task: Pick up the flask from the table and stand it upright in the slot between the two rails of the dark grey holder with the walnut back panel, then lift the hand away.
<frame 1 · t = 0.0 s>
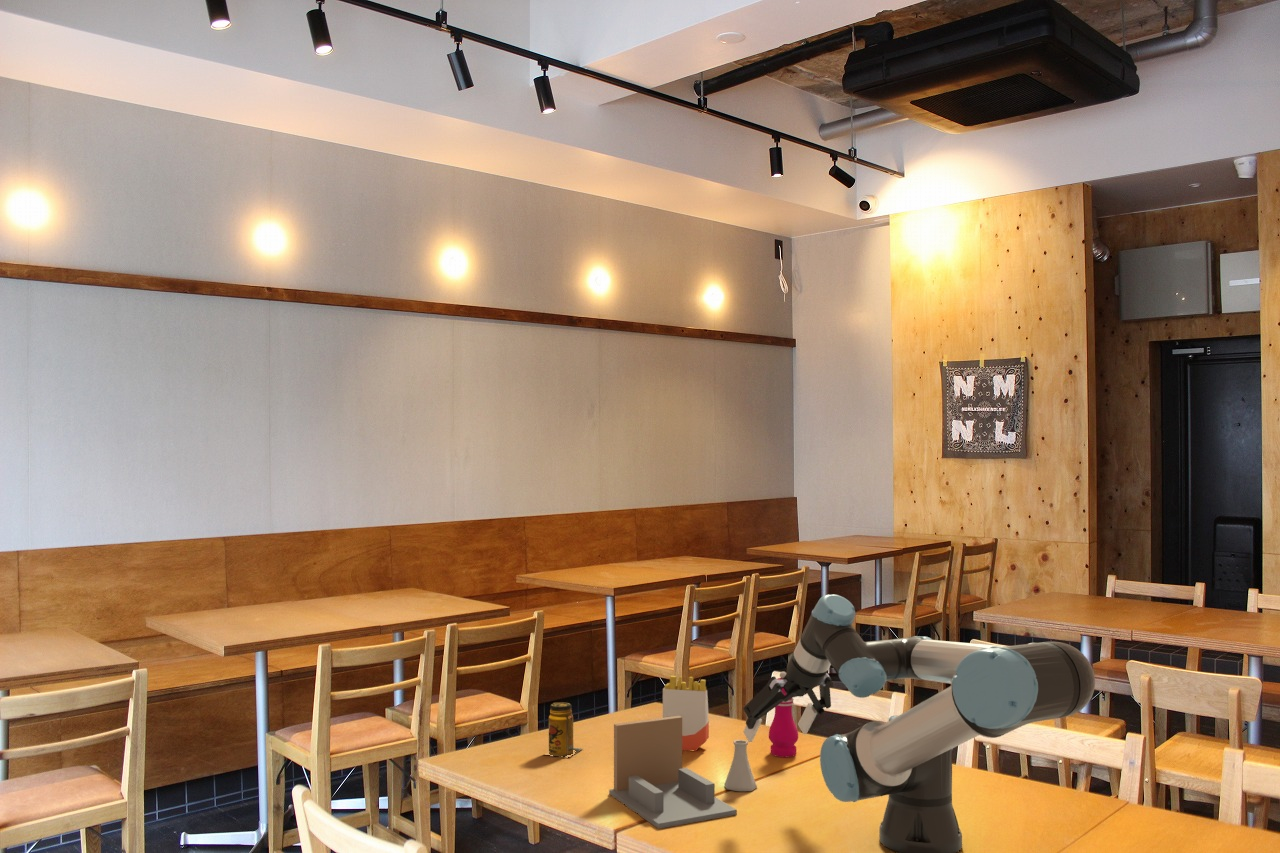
hand: (775, 733, 217), 15 cm above the table, tool tilted 35°, fingers open, 13 cm apart
pepper mill: (783, 754, 255), on the table
shaker holder: (671, 804, 218), on the table
flask: (740, 788, 229), on the table
french fries container: (685, 748, 260), on the table
condiment: (563, 753, 256), on the table
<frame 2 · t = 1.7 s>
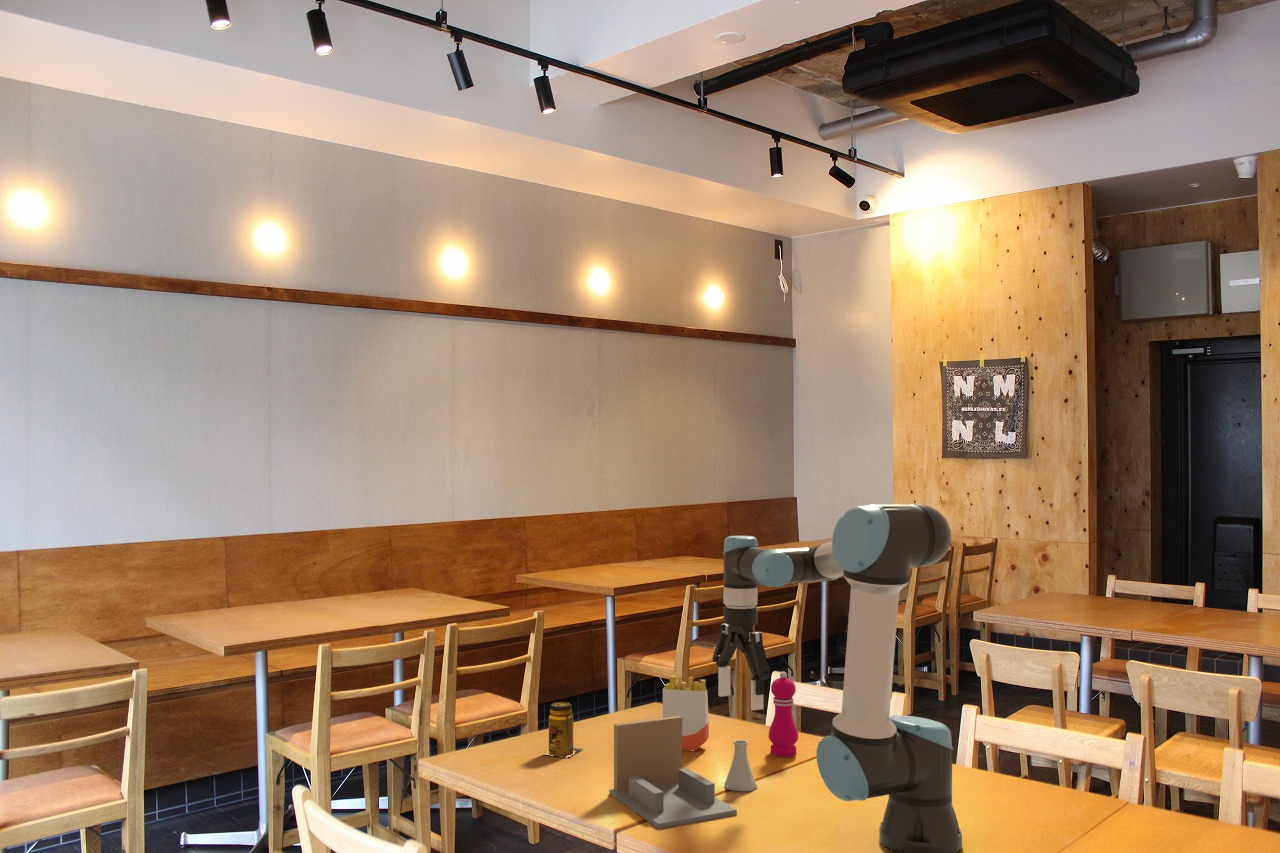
hand: (740, 702, 230), 19 cm above the table, tool pointing down, fingers open, 13 cm apart
nothing on the table moved.
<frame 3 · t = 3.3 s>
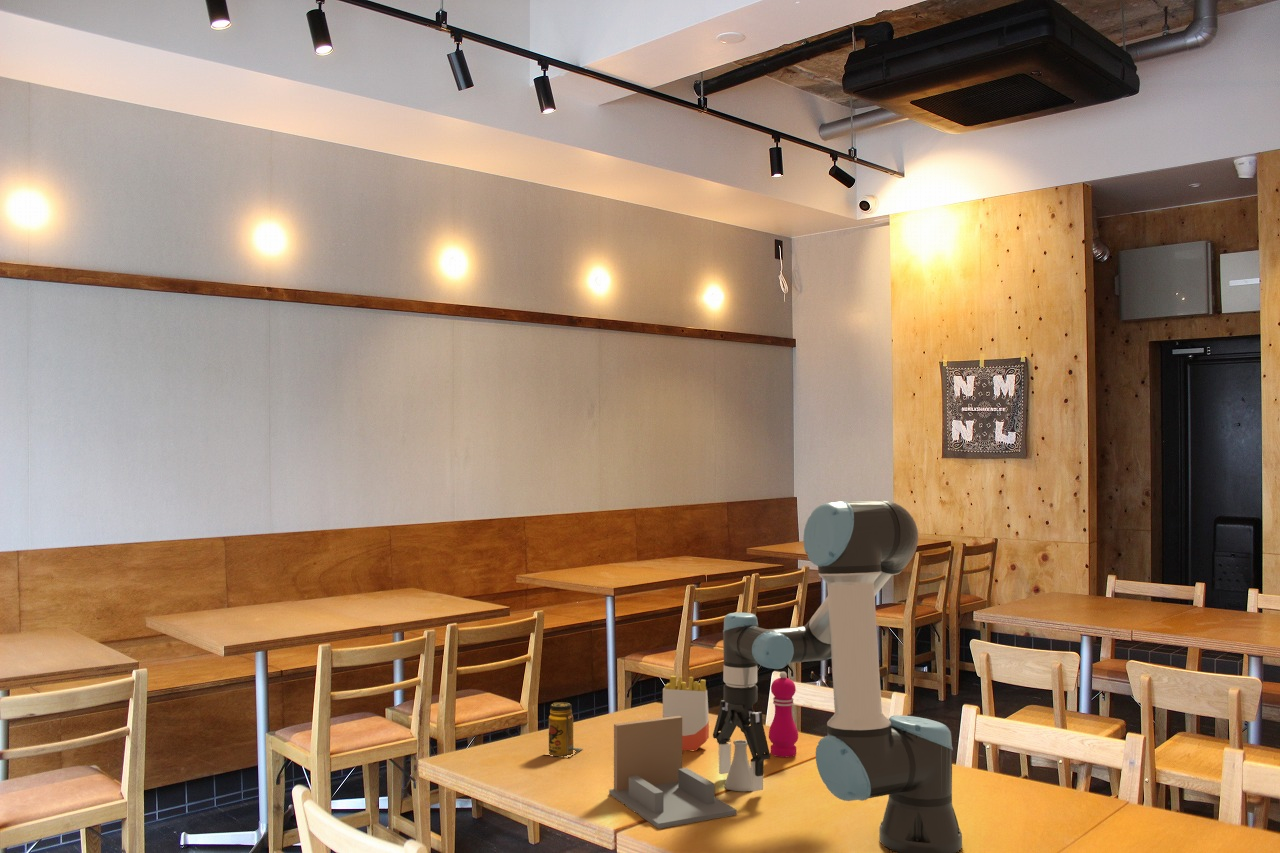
hand: (740, 781, 229), 1 cm above the table, tool pointing down, fingers open, 12 cm apart
nothing on the table moved.
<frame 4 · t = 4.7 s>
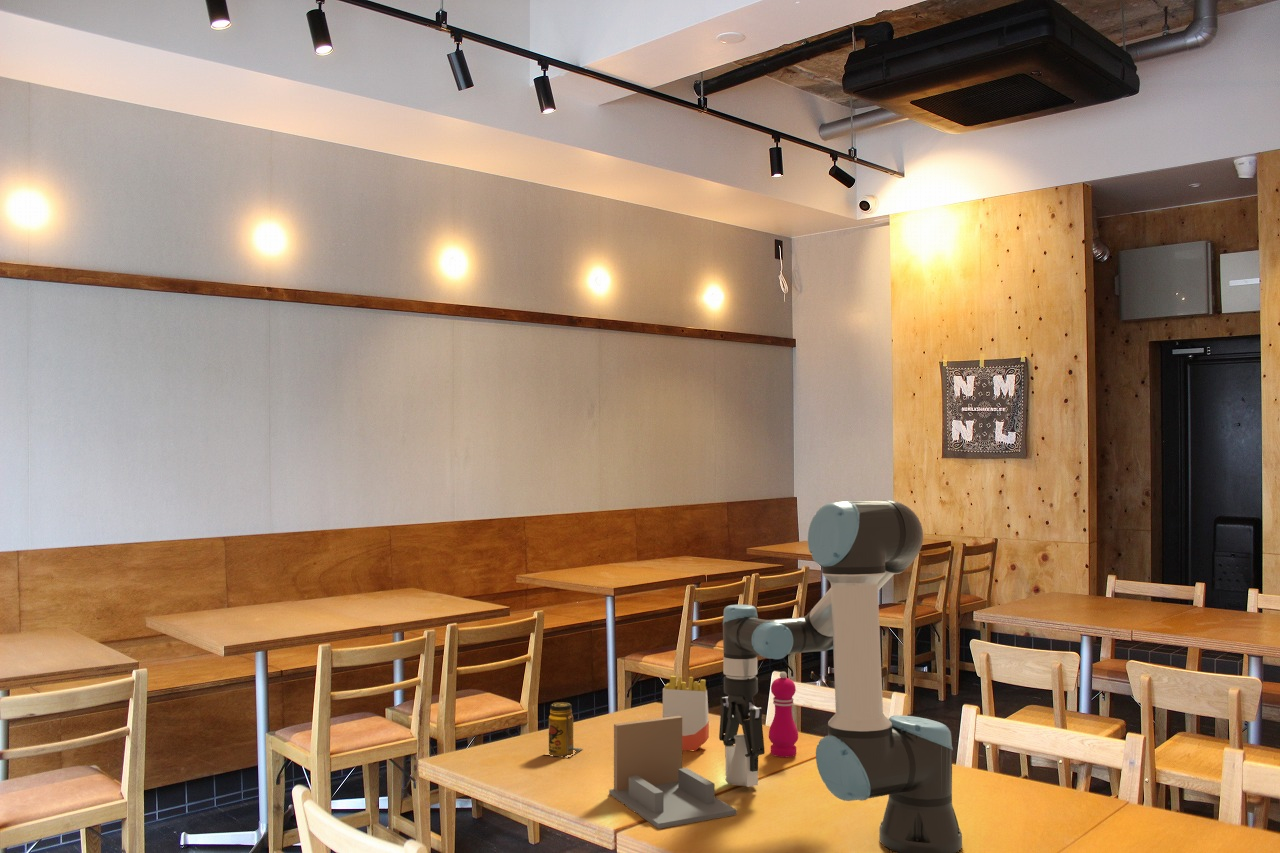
hand: (741, 780, 229), 2 cm above the table, tool pointing down, fingers closed on flask, 8 cm apart
flask: (741, 782, 229), point 1 cm above the table, touching gripper
everything else where it was.
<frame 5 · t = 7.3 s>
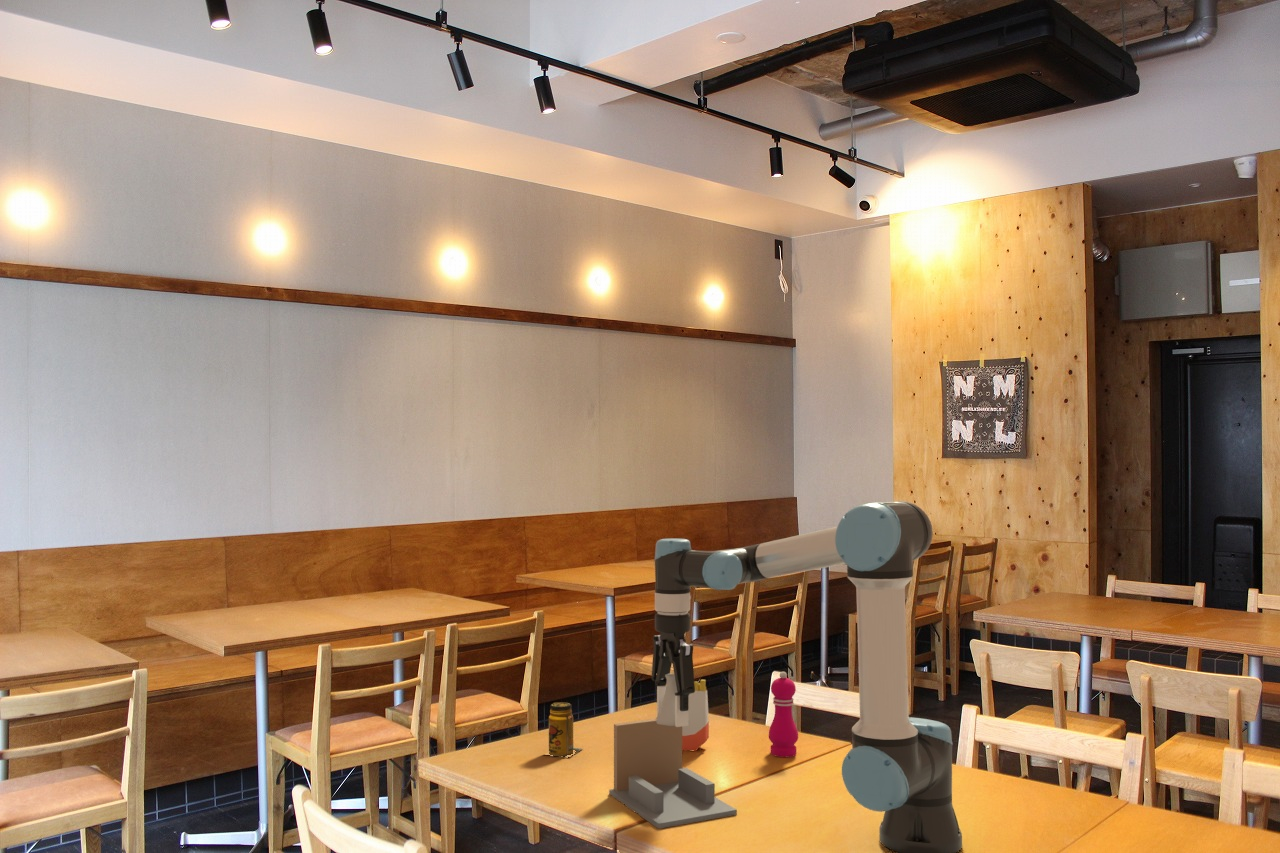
hand: (672, 721, 219), 17 cm above the table, tool pointing down, fingers closed on flask, 8 cm apart
flask: (672, 723, 219), point 17 cm above the table, touching gripper
everything else where it was.
when the fingers open (2 cm above the table, at t = 9.9 s): flask stays where it is, resting on shaker holder.
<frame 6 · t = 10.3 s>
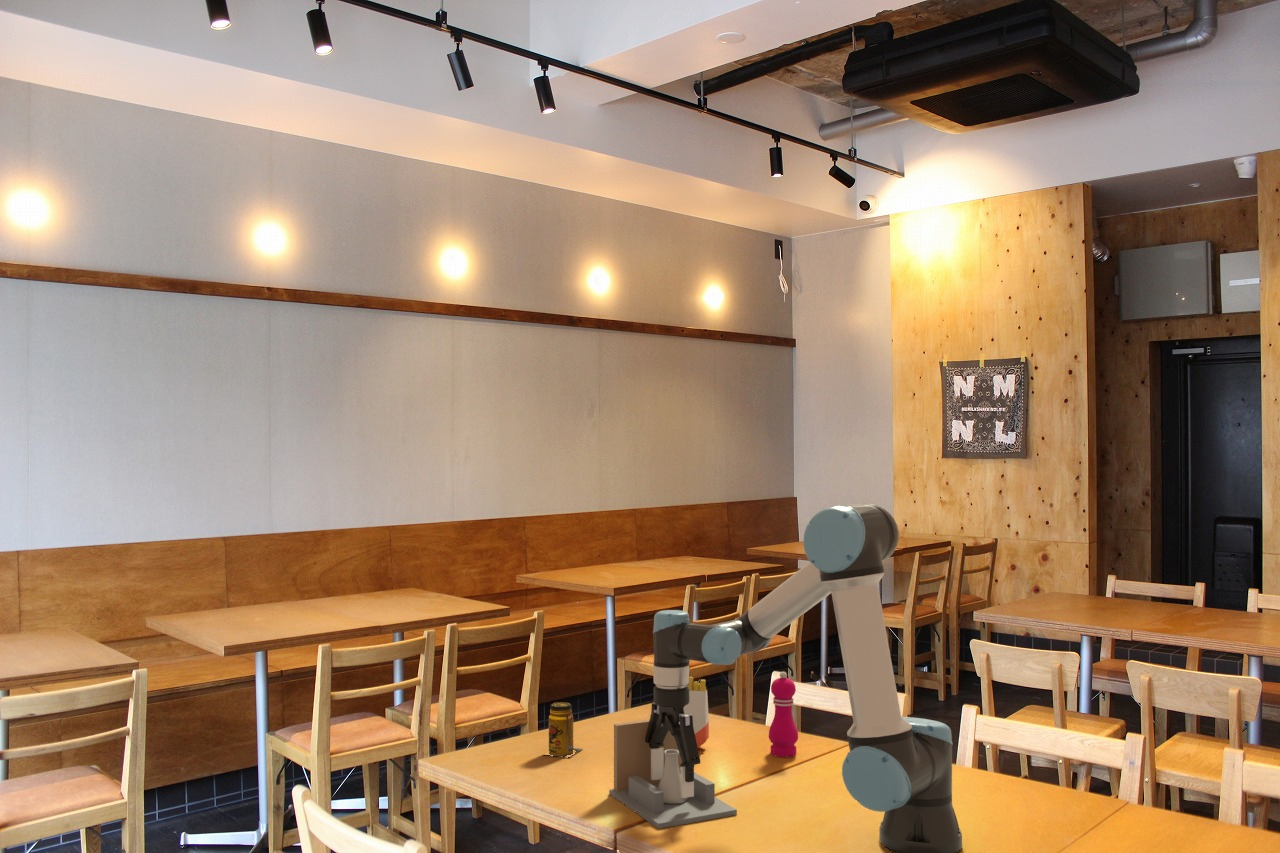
hand: (671, 787, 218), 3 cm above the table, tool pointing down, fingers open, 12 cm apart
flask: (671, 800, 218), point 1 cm above the table, touching shaker holder
everything else where it was.
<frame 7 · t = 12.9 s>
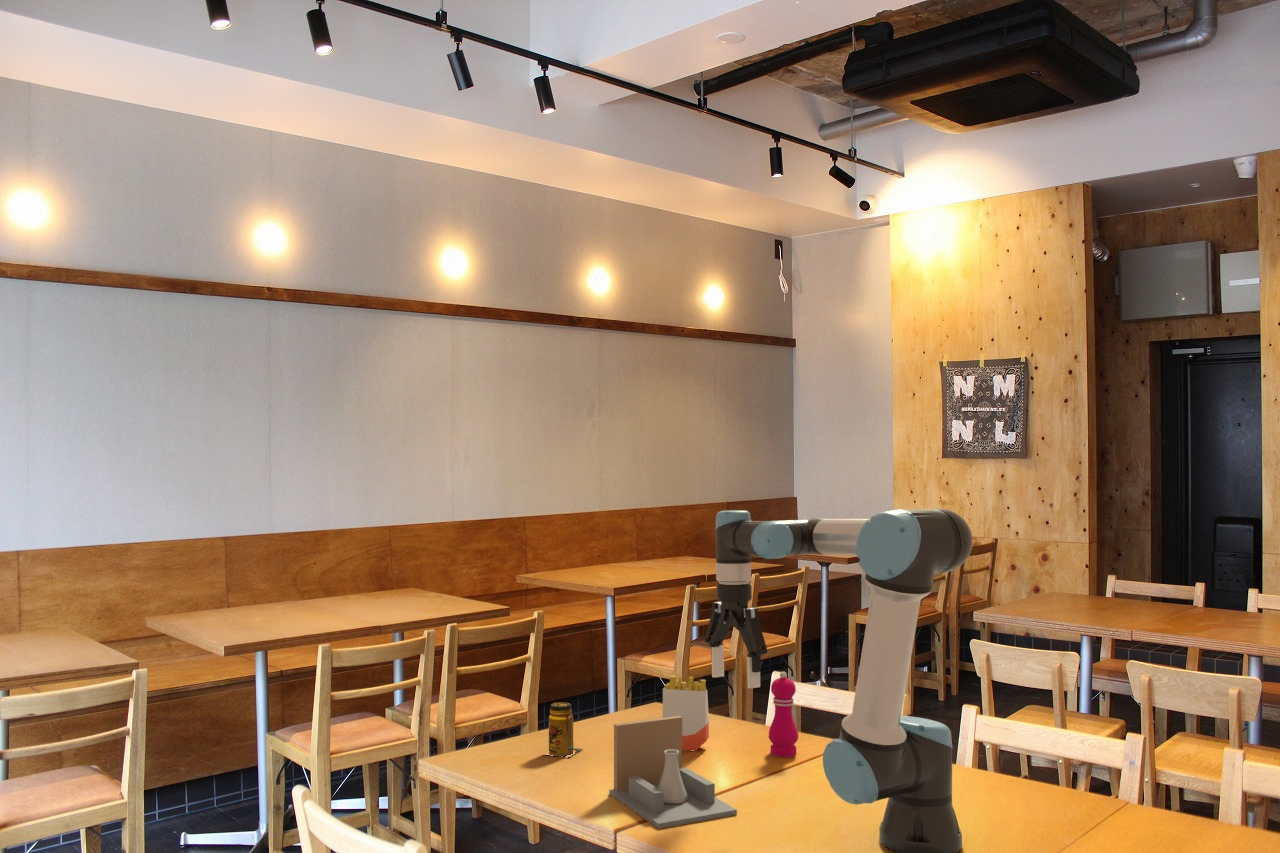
hand: (735, 682, 223), 25 cm above the table, tool pointing down, fingers open, 13 cm apart
nothing on the table moved.
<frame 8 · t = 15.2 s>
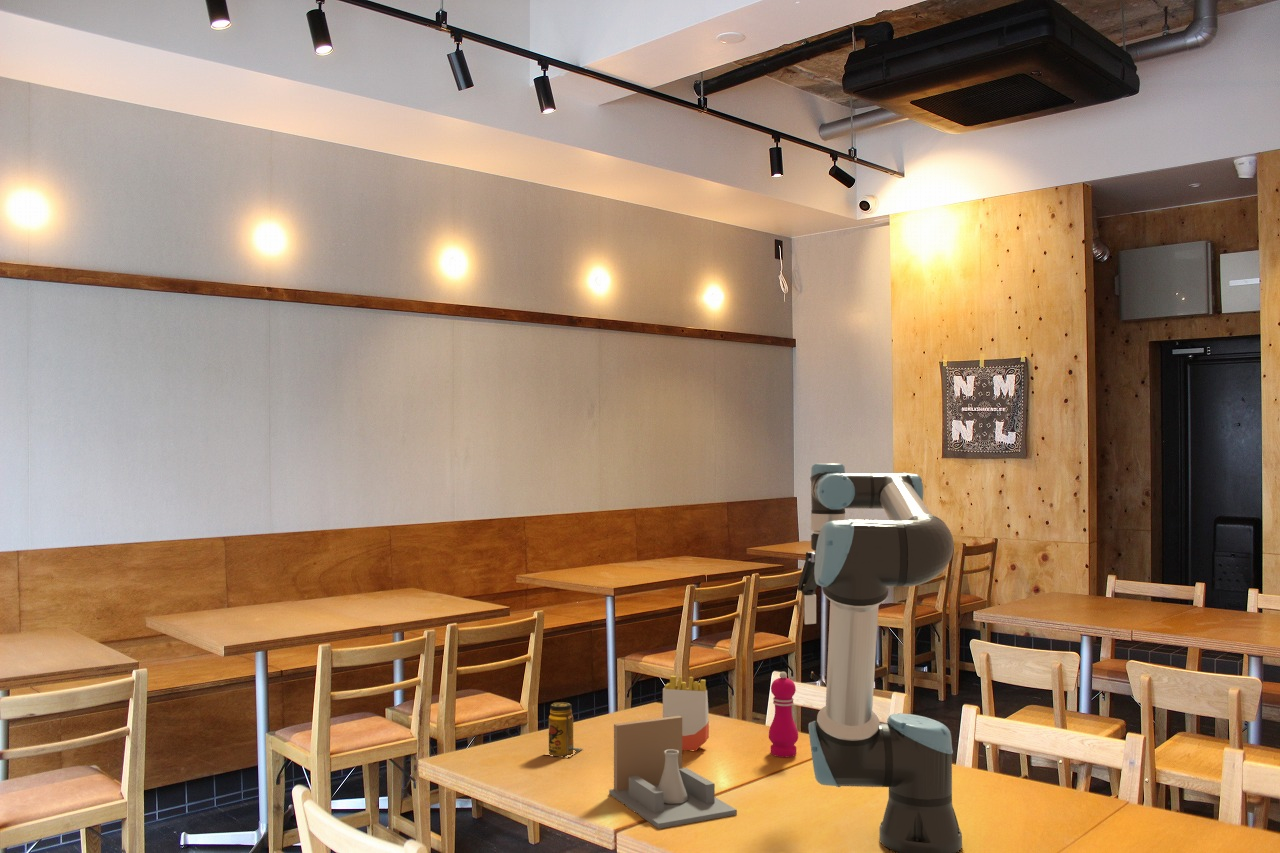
hand: (828, 628, 231), 35 cm above the table, tool pointing down, fingers open, 13 cm apart
nothing on the table moved.
at the end: flask 0.0 cm off-centre on the shaker holder, point 0.8 cm above the shaker holder's base; flask tilted 0°; the gripper is holding nothing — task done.
